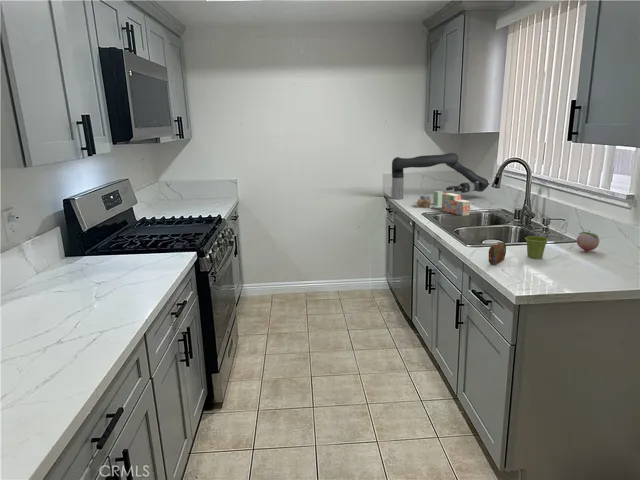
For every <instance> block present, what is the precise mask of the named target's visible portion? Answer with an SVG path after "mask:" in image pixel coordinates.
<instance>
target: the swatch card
mask: <svg viewBox="0 0 640 480" xmlns="http://www.w3.org/2000/svg"><path fill="white" fill-rule="evenodd" d="M430 209H431V210H442V206H437V205H433V206H430Z"/></svg>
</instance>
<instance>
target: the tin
mask: <svg viewBox="0 0 640 480" xmlns="http://www.w3.org/2000/svg"><path fill="white" fill-rule="evenodd" d="M506 253H507V245H506V242H505V241H497V242H496V243H494V244H492V245H491V246H490V247H489V249H488V263H489V264H491V265H498V264H500V263H501V262H502V261H504V260H505V258H506Z"/></svg>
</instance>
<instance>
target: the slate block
mask: <svg viewBox="0 0 640 480" xmlns="http://www.w3.org/2000/svg"><path fill="white" fill-rule="evenodd" d="M419 199H430V200H431V196H430V195H427V194H426V195H425V194H424V195H420V196H419Z"/></svg>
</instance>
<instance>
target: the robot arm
mask: <svg viewBox="0 0 640 480" xmlns="http://www.w3.org/2000/svg"><path fill="white" fill-rule="evenodd" d="M442 164H444V165H446V166H448V167H449V168H451V169H453V170H454V171H456V172H457V173H459V174H460V175H462V176H463V177H464V178H465V179H467V180H468V181H469V182H461V183H460V184H459V185H451V186H450V185H449V186H448V187H445V188H446V191H448V192H449V191H454V192H456V193H457V192H460V193H462V194H464V193H466V194H467V193H472V192H480V193H481V192H484V191H485V190H486V189H487V188H488V187H489V186H490V182H489V183H488V181H489V180H488V179H486V178H484V177H483V176H480V175H478V174H477V173H476V172H474V171H473V170H471V169H470V168H468V167H466V166H464V165H462V164H461V163H460V162H459V155H458V154H456V153H454V152H448V153H444V154H443V153H442V154H431V155H420V156H419V155H418V156H415V157H408V158H406V157H402V158H401V157H400V156H397V157H394V158H393V159H392V162H391V180H392V181H391V193H390V194H391V196H390V197H391V198H390V199H392V200H402V199H404V180H405V179H404V177H405V175H404V169H409V168H417V169H418V168H419V169H420V168H430V167H435V166H438V165H442ZM488 185H489V186H488Z"/></svg>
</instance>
